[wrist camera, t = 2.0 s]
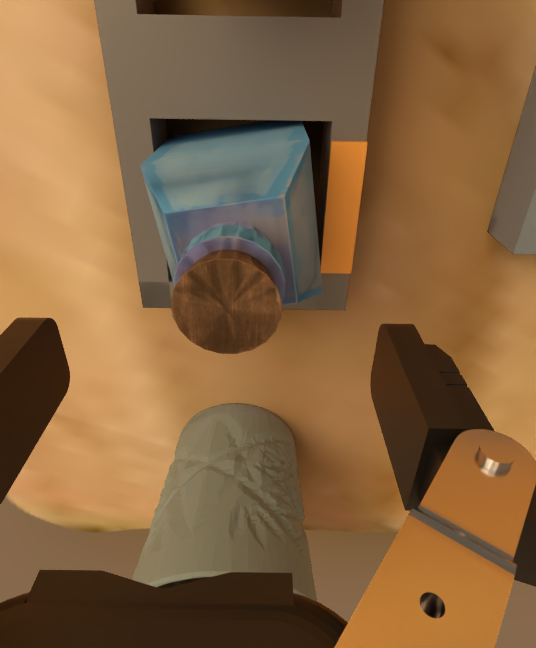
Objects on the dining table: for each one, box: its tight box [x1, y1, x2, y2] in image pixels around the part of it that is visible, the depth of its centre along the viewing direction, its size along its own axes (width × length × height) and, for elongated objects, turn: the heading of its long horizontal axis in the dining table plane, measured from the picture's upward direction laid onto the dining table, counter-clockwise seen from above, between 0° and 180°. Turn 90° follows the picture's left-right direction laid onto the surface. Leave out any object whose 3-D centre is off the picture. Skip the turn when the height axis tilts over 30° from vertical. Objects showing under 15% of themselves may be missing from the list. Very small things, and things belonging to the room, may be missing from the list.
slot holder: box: [94, 0, 384, 310], centre depth 18 cm, size 22×10×3 cm, turn 179°
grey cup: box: [132, 403, 317, 602], centre depth 28 cm, size 10×10×12 cm
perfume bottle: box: [140, 120, 322, 354], centre depth 18 cm, size 6×6×12 cm
